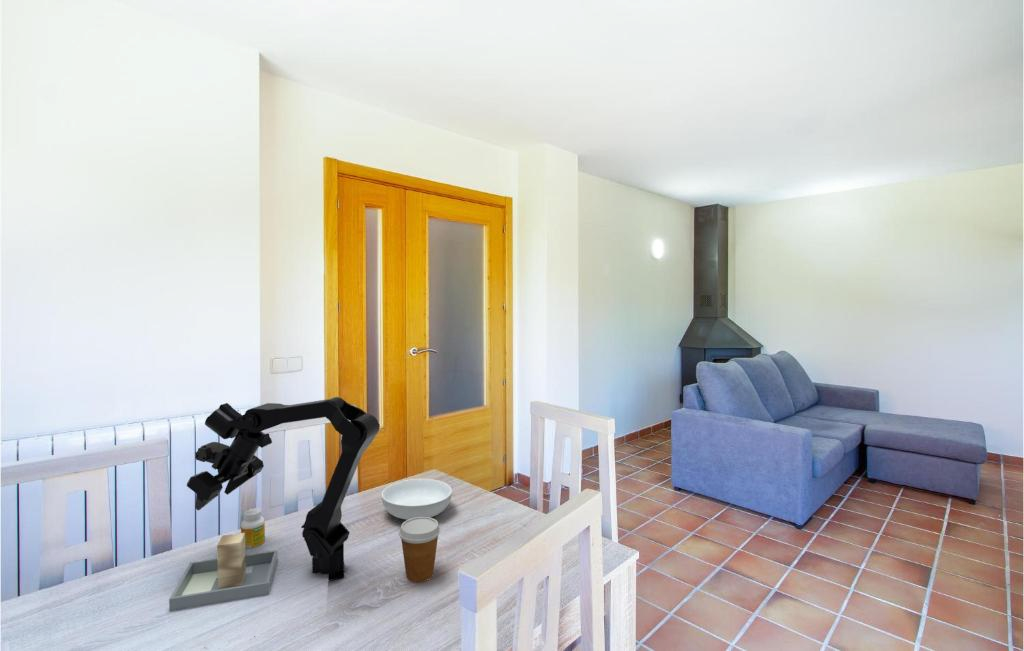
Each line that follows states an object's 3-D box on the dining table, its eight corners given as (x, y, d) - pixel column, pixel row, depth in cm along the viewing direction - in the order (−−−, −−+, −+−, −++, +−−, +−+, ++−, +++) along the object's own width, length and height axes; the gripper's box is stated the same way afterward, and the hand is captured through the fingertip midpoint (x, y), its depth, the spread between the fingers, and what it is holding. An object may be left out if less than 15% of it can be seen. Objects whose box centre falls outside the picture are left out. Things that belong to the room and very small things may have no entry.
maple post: (245, 575, 110) (244, 532, 109) (241, 586, 106) (240, 542, 105) (223, 578, 108) (222, 535, 108) (218, 590, 104) (217, 545, 104)
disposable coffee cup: (390, 581, 111) (390, 530, 110) (413, 560, 120) (413, 513, 119) (427, 590, 107) (427, 538, 107) (447, 568, 116) (447, 519, 116)
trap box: (277, 566, 116) (277, 550, 116) (268, 601, 103) (268, 582, 103) (190, 579, 111) (190, 562, 110) (169, 618, 97) (169, 599, 97)
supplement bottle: (254, 555, 121) (254, 517, 121) (236, 552, 122) (235, 515, 122) (269, 544, 127) (269, 508, 126) (251, 542, 128) (251, 506, 127)
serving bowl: (446, 530, 136) (446, 506, 135) (372, 528, 136) (372, 505, 135) (456, 499, 156) (456, 478, 156) (391, 498, 157) (391, 477, 156)
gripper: (243, 420, 125) (216, 468, 128) (184, 442, 107) (153, 496, 109) (277, 445, 124) (248, 493, 126) (223, 471, 106) (190, 526, 108)
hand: (212, 500), depth 118 cm, fingers open, 9 cm apart
